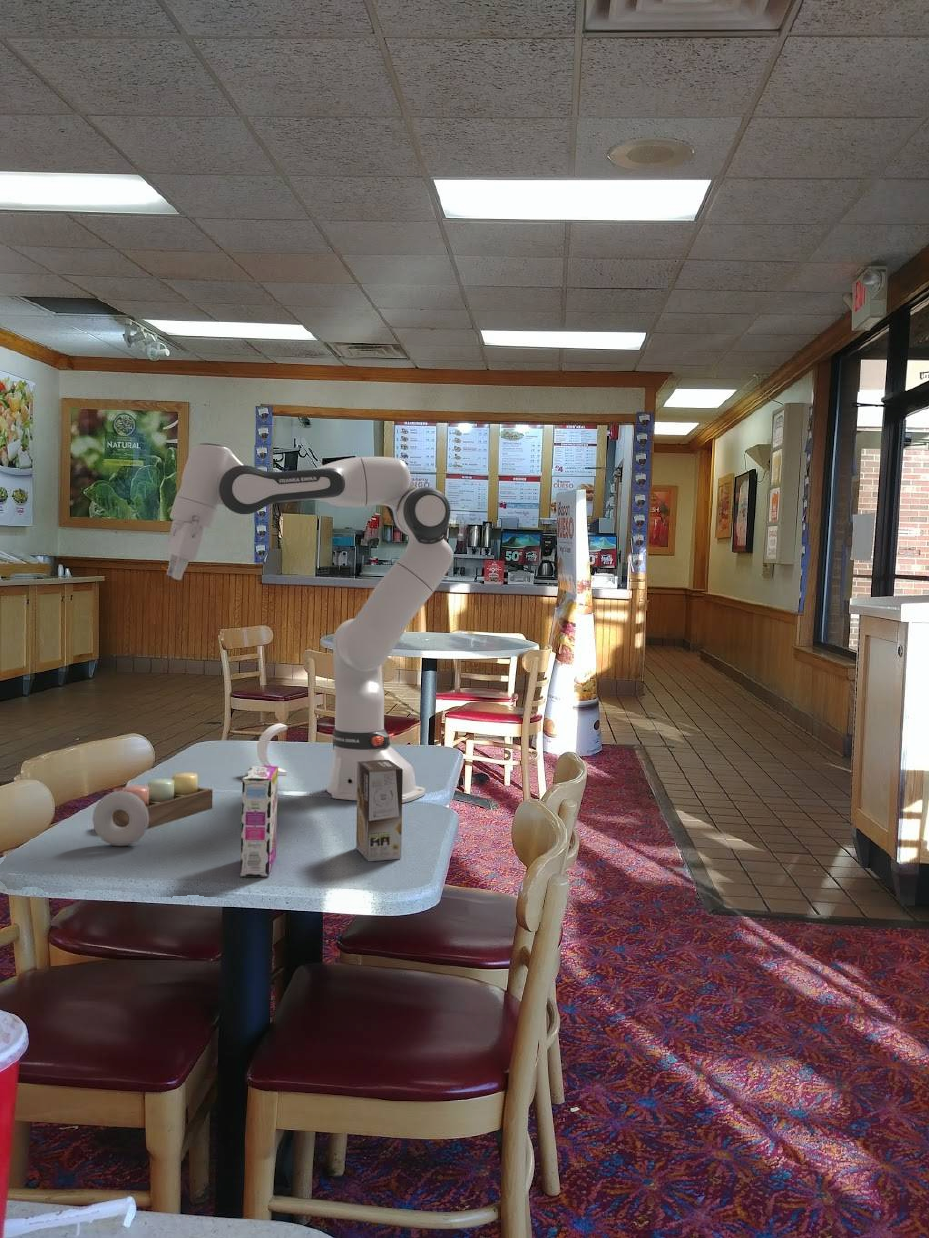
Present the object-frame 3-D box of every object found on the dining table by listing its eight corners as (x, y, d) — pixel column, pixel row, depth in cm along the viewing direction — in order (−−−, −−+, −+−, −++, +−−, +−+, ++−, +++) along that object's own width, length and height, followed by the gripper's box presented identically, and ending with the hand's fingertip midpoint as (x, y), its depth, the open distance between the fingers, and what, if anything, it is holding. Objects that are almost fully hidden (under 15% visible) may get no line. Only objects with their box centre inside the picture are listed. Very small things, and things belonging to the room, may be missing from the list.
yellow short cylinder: (202, 793, 200) (202, 774, 200) (185, 798, 196) (185, 779, 195) (184, 790, 202) (184, 771, 202) (167, 795, 198) (167, 776, 198)
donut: (151, 843, 175) (151, 789, 175) (145, 849, 172) (145, 793, 171) (96, 842, 175) (96, 788, 175) (89, 848, 172) (89, 792, 171)
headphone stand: (286, 775, 234) (287, 726, 233) (262, 777, 231) (263, 727, 230) (280, 771, 238) (281, 723, 237) (256, 773, 235) (257, 724, 234)
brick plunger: (154, 807, 188) (154, 787, 188) (134, 813, 183) (135, 792, 183) (135, 804, 190) (135, 784, 190) (115, 809, 186) (115, 789, 186)
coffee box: (402, 859, 169) (404, 768, 168) (367, 862, 167) (369, 771, 166) (387, 844, 178) (389, 758, 177) (354, 847, 175) (355, 760, 175)
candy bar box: (270, 877, 158) (271, 778, 157) (239, 878, 157) (240, 778, 156) (278, 857, 169) (279, 764, 168) (249, 857, 168) (250, 764, 167)
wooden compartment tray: (212, 808, 201) (212, 789, 201) (134, 832, 182) (134, 811, 182) (183, 803, 204) (184, 784, 204) (104, 826, 185) (104, 806, 185)
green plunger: (179, 800, 194) (179, 780, 194) (161, 805, 190) (161, 785, 189) (160, 797, 196) (160, 777, 196) (142, 802, 192) (142, 782, 192)
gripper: (214, 521, 198) (195, 585, 198) (199, 519, 217) (181, 578, 216) (184, 511, 195) (164, 576, 195) (171, 510, 214) (153, 570, 214)
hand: (173, 577), depth 206 cm, fingers open, 8 cm apart
